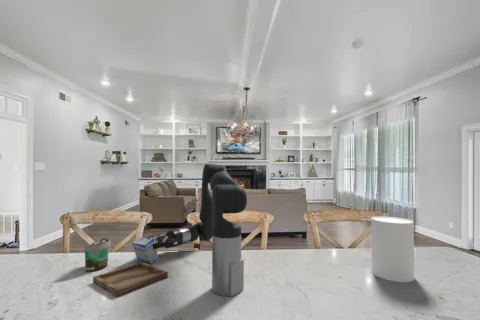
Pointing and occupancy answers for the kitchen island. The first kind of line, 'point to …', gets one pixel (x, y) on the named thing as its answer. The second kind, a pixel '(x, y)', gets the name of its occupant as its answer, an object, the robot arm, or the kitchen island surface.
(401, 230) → the canister
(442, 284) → the kitchen island surface
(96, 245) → the food container
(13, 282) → the kitchen island surface
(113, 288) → the walnut tray
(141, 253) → the medicine box
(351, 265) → the kitchen island surface
